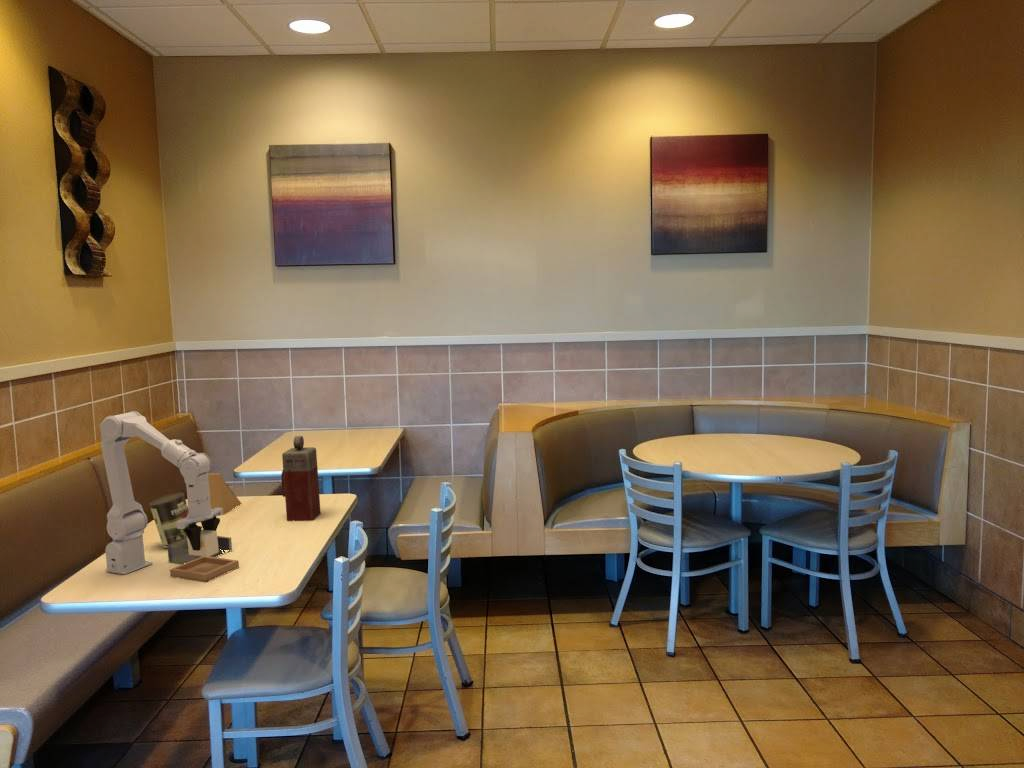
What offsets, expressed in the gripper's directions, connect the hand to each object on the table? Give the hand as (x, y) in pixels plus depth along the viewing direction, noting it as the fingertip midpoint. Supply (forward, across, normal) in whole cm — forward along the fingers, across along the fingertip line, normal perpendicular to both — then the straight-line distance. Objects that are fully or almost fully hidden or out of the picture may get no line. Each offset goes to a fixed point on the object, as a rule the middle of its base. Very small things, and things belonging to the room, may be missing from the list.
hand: (203, 547), depth 218 cm
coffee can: (+6, +17, +28) cm, 33 cm away
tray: (+7, 0, 0) cm, 7 cm away
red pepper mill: (+7, +53, +11) cm, 55 cm away
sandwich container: (+7, +53, +47) cm, 71 cm away
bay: (+7, +10, +12) cm, 17 cm away
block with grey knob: (+2, 0, 0) cm, 2 cm away
